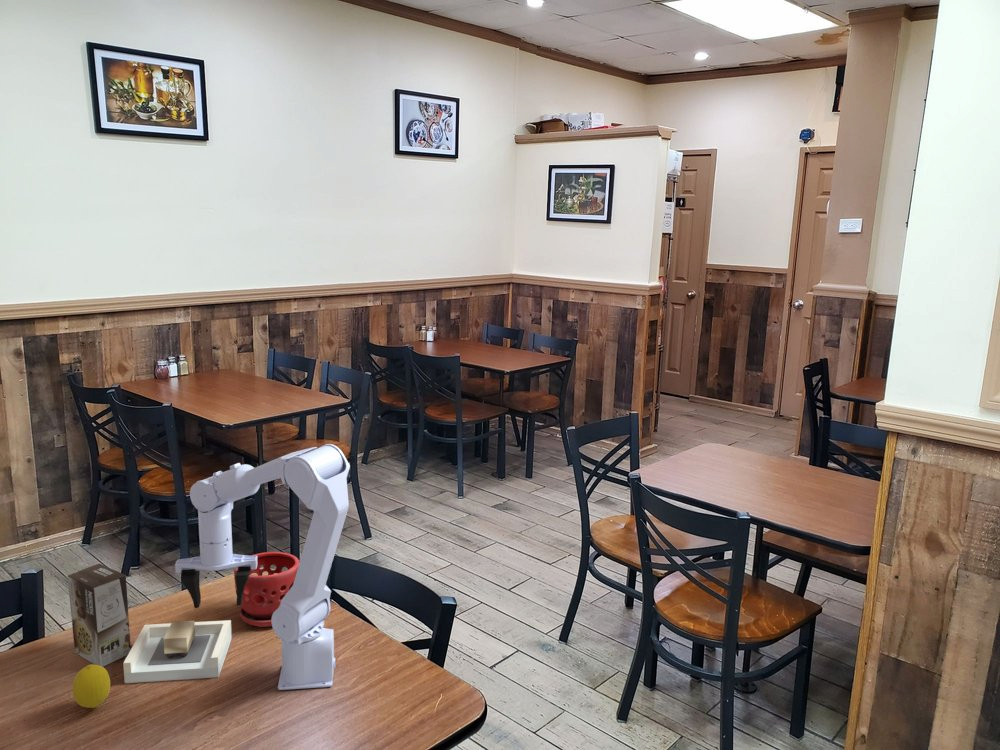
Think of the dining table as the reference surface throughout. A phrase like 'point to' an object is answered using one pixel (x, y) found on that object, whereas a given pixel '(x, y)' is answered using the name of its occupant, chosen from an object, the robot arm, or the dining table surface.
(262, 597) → the plant pot
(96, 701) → the lemon
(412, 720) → the dining table surface
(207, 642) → the dock
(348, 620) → the dining table surface
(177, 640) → the cream rectangular block
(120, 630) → the coffee box
